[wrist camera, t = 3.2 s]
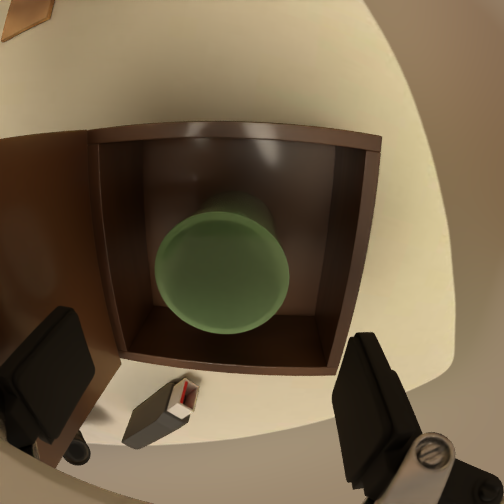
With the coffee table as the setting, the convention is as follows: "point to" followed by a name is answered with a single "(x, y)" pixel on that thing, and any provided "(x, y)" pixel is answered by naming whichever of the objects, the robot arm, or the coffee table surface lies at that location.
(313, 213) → the chest
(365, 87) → the coffee table surface
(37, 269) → the chest lid
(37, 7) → the coaster
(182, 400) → the usb drive
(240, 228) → the pot
